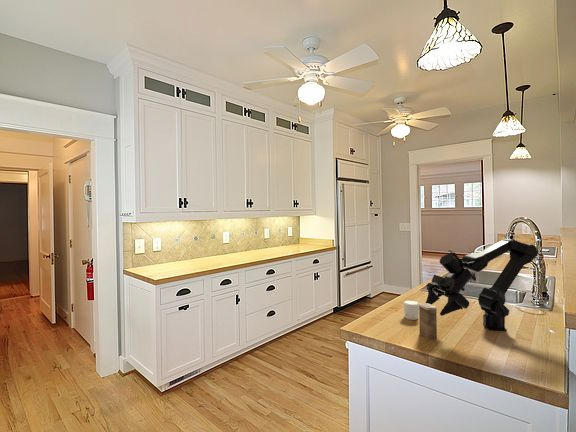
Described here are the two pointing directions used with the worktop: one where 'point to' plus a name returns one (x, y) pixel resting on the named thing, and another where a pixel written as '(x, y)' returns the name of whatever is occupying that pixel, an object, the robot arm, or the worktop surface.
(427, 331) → the walnut block
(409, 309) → the white cylinder
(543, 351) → the worktop surface
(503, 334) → the worktop surface
